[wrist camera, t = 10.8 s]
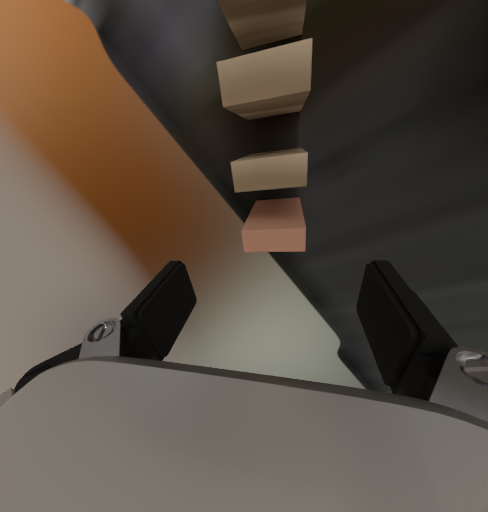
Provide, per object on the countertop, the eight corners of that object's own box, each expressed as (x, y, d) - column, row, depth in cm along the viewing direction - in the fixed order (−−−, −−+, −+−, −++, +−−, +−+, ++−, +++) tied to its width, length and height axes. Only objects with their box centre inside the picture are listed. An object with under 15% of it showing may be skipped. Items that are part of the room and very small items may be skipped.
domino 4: (251, 153, 21) (230, 162, 13) (300, 147, 19) (307, 152, 12) (253, 173, 22) (234, 192, 14) (299, 168, 20) (306, 186, 13)
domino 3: (246, 94, 18) (216, 62, 11) (301, 82, 17) (312, 38, 9) (248, 120, 19) (222, 107, 12) (300, 110, 18) (310, 90, 10)
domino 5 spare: (256, 200, 23) (241, 230, 15) (299, 197, 22) (305, 228, 14) (257, 216, 24) (244, 252, 16) (299, 214, 23) (305, 251, 15)
